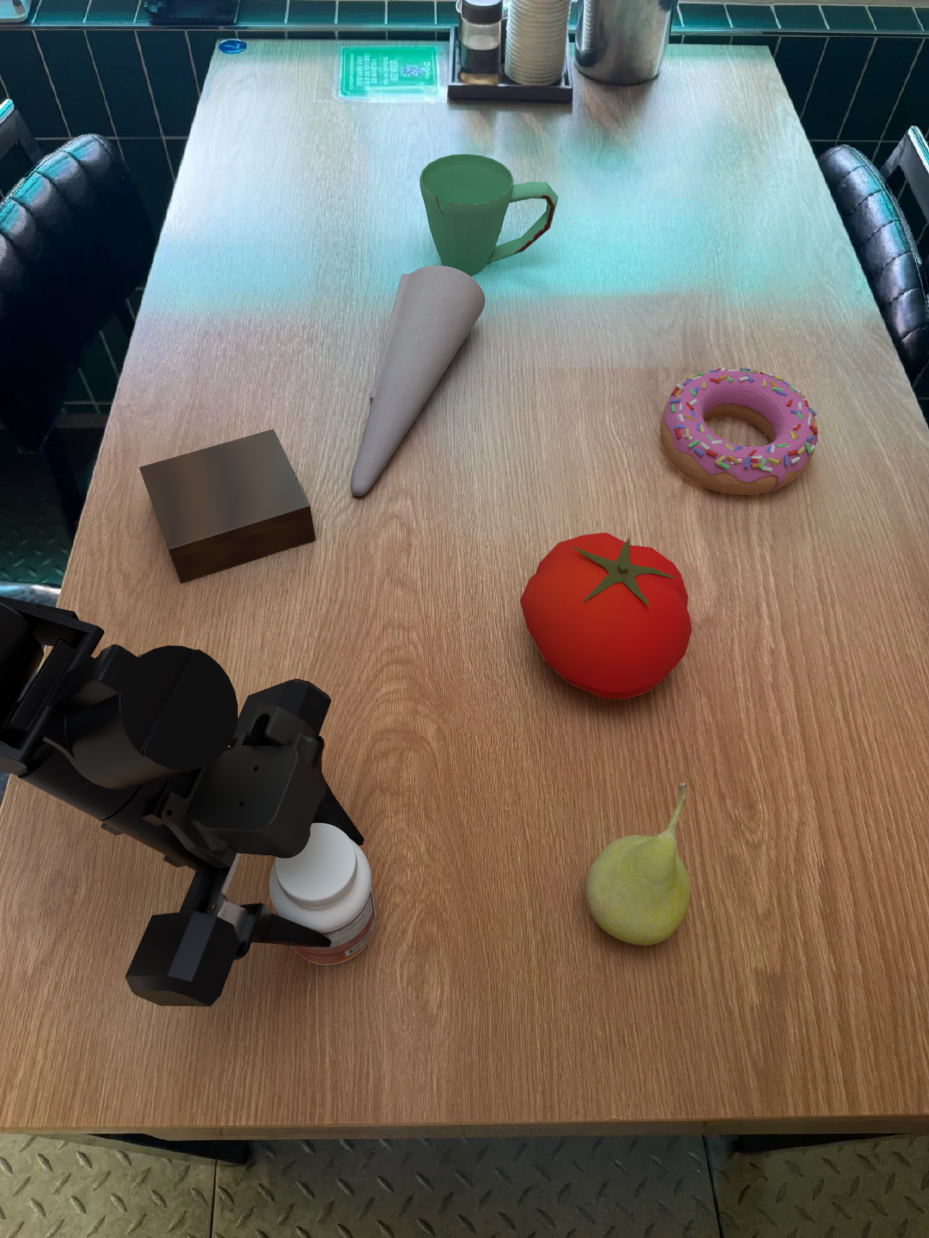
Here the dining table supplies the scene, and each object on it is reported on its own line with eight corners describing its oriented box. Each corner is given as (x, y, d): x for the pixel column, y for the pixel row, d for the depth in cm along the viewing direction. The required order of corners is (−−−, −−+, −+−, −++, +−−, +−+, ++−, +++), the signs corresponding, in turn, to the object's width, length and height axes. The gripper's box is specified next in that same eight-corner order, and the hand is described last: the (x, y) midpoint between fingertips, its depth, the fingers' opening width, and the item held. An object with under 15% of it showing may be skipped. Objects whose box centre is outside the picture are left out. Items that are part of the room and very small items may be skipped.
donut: (634, 411, 93) (644, 371, 89) (767, 389, 95) (782, 349, 91) (690, 518, 85) (703, 479, 81) (834, 491, 87) (853, 452, 83)
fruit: (565, 932, 63) (589, 867, 54) (602, 835, 67) (630, 758, 58) (661, 974, 62) (703, 915, 52) (693, 872, 66) (737, 800, 56)
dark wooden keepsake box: (180, 583, 80) (168, 549, 76) (151, 502, 85) (138, 466, 81) (316, 540, 83) (310, 505, 79) (280, 464, 88) (273, 428, 84)
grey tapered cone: (440, 481, 81) (486, 271, 93) (341, 466, 81) (400, 259, 94) (440, 531, 88) (483, 329, 100) (349, 517, 88) (403, 318, 100)
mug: (420, 289, 104) (419, 204, 95) (421, 237, 109) (420, 152, 101) (553, 291, 104) (563, 206, 96) (547, 239, 110) (556, 155, 102)
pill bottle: (290, 874, 65) (268, 808, 56) (379, 876, 65) (372, 810, 56) (279, 967, 62) (253, 912, 52) (374, 969, 62) (364, 914, 53)
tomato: (709, 676, 75) (744, 597, 67) (584, 748, 71) (605, 674, 63) (608, 564, 82) (628, 479, 73) (489, 625, 78) (495, 542, 69)
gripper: (123, 938, 39) (387, 1059, 47) (278, 592, 50) (473, 738, 58) (17, 946, 47) (260, 1050, 55) (172, 644, 57) (357, 767, 65)
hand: (343, 892), depth 58 cm, fingers closed on pill bottle, 6 cm apart
